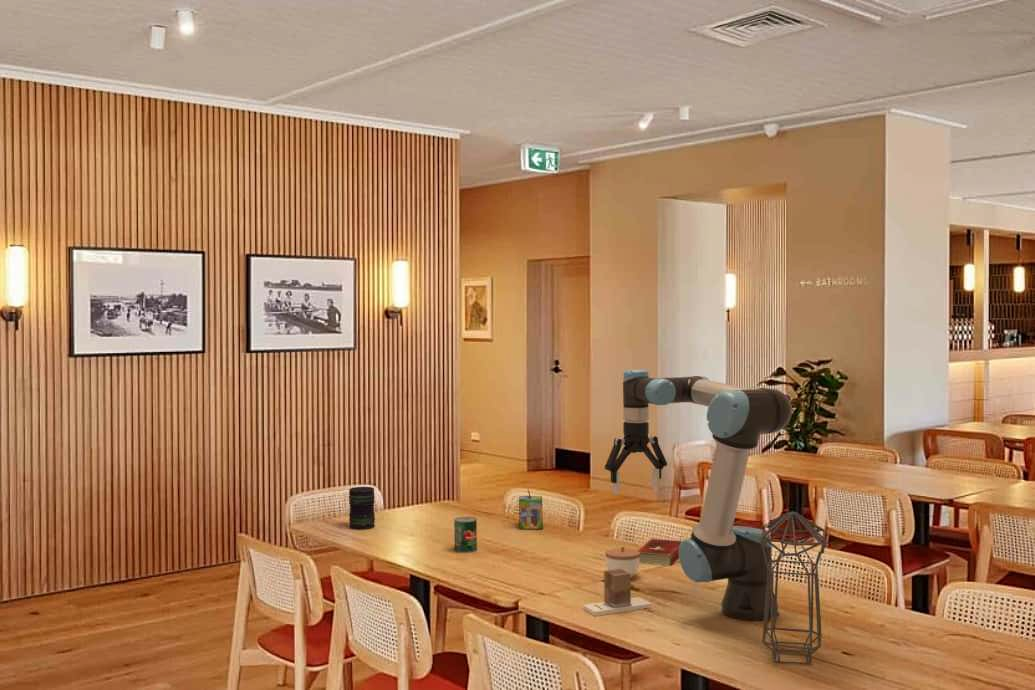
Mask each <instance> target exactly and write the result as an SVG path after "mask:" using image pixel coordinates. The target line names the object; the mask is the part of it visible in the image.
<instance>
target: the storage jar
mask: <svg viewBox="0 0 1035 690" xmlns="http://www.w3.org/2000/svg"><path fill="white" fill-rule="evenodd" d="M348 492H349V493H348V499H349V500H348V503H349V514H348V516H349V518H348V520H349V529H351V530H355V531H363V530H365V531H366V530H371V529H374V528H375V525H376V524H375V521H376V517H375V514H376V513H375V488H374V487H373V486H355V487H351V488H349V489H348Z"/></svg>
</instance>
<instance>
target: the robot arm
mask: <svg viewBox="0 0 1035 690" xmlns="http://www.w3.org/2000/svg"><path fill="white" fill-rule="evenodd" d="M622 378H623V379H622V397H623V398H622V399H623V400H622V403H623V404H622V405H623V408H622V411H623V412H622V413H623V420H624V422H623V425H622V426H623V427H622V428H623V431H622V432H623V438H617V437H615V438H614V439H613V440H614V441H613V446H612V449H611V451H610V454H609V455H608V458H607V460H606V463H605V465H604V470H606V471H609V472H610V482H611V483H612V492H613V494H615V495H620V494H621V481H620V479H621V476H620V475H621V472H619V469H620V468H621V467H622V466H623V464H624V463H625V461H626V459H627V458H628V456H630V455H631V454H632V453H633V454H636V453H643V454H644V455H645V457H647V459H648V460H649V461H650V462H651V464H652V465H653V467H652V469H651V470H652V472H651V473H652V474H651V475H652V481H651V482H652V490H653V491H657V492H659V491H660V480H661V479H662V470H663V469H664V467H667V466H668V462H667V460H666V458H665V456H664V454H663V451H662V449H661V447H660V445H659V439H658V436H655V435H650V436H649V432H650V430H649V428H650V426H649V425H650V424H649V422H648V421H649V419H650V418H649V417H650V415H649V413H650V411H649V407H650V406H649V404H650V405H655V406H667V405H669V404H679V403H692V404H696V405H700V406H704V407H708V408H707V411H706V421H707V422H708V423H707V427H708V430H709V431H710V432H711V434H712V435H711V437H712V439H713V441H715V443H716V444H715V450H714V454H713V459H712V464H711V469H710V474H709V477H708V483H707V487H706V491H705V497H704V501H703V505H702V510H701V511H702V512H701V514H700V515H701V516H700V518H699V519H700V521H699V523H696V524H694V525H693V527H692V529H691V534H690V538H685V539H684V540H681V541H682V542H681V543H680V546H679V558H678V560H679V564H680V566H681V569H682V571H683V573H684V575H686V577H687V578H688V579H689V580H690V581H692V582H694V583H711V582H714V581H720V580H727V583H726V584H727V586H726V588H725V591H724V594H723V595H724V596H723V598H722V601H721V612H722V613H723V614H724V615H726V616H728V617H730V618H731V617H732V618H734V619H741V620H748V621H749V620H750V621H762V620H763V621H764V611H765V598H766V585H767V572H768V571H767V567H766V562H765V558H764V553H763V548H762V547H761V542H760V540H759V538H760V536H762V535H761V534H762V533H763V531H762V528H757V527H756V528H755V527H750V526H742V525H741V526H740V525H734V523H735V519H736V513H737V509H738V505H739V500H740V497H741V492H742V488H743V484H744V479H745V475H746V474H745V473H746V469H747V465H748V461H749V456H750V452H751V451H753V450H755V449H756V448H757V447H758V444H759V440H760V436H761V435H768V434H769V435H770V434H774V433H778V432H780V431H781V430H782V429H784V428H785V427H786V426H787V425H788V424H789V422H790V421H791V418H792V414H793V406H792V403H791V400H790V398H789V397H788V396H787V395H786V394H785V393H784V392H782V391H780V390H778V389H775V388H766V387H758V388H755V389H752V388H748V387H743V386H739V385H733V384H729V383H723V382H719V381H714V380H710V379H709V378H708V377H706V376H701V375H693V376H679V377H675V376H674V377H650V376H649V372H648V370H646V369H627V370H624V371H623V376H622ZM649 444H650V445H651V447H652V450H653V452H654V453H653V452H652V451H651V449H650V447H649V446H648V445H649ZM623 445H624V446H623ZM622 446H623V448H622ZM621 448H622V449H621ZM619 453H620V454H619ZM654 454H655V455H654ZM770 534H771V533H769V534H767V535H766V538H767V537H768V536H769V535H770ZM769 539H772V535H771V536H770V537H769ZM770 542H771V543H772V541H770ZM766 543H767V548H768V551H769V553H770V556H771V557H772V553H773V552H772V549H773V546H772V545H770V544H769V543H768V542H766ZM765 553H766V557H767V562H768V563H769V561H771V559H770V556H769V554H768V552H767V549H766V547H765ZM769 569H770V566H769ZM774 602H775V591H773V618H774ZM778 614H779V604H778V603H777V606H776V617H777V616H778ZM768 620H771V588H770V602H769V615H768Z"/></svg>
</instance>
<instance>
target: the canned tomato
mask: <svg viewBox="0 0 1035 690" xmlns="http://www.w3.org/2000/svg"><path fill="white" fill-rule="evenodd" d="M453 520H454V521H453V522H454V523H453V525H454V526H453V527H454V534H453V535H454V552H456V553H460V554H470V553H471V554H472V553H475V552H477V551H478V537H477V536H478V533H477V531H478V528H477V527H478V526H477V524H478V523H477V521H478V520H477V518H476V517H474V516H459V517H456V518H454V519H453Z"/></svg>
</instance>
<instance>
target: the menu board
mask: <svg viewBox="0 0 1035 690" xmlns="http://www.w3.org/2000/svg"><path fill="white" fill-rule="evenodd" d="M651 607H652V608H653V603H651V602H649V601H648V600H646V599H645V598H642V597H640V596H636V597H631V606H627V607H620V608H614V607H612V606H610V605H608V604H606V603H604V601H602V602H595V603H588V604H587V603H586V604H583V605H582V610H583V609H584V610H583V611H585V612H587V613H588V612H589V614H590V615H593V616H594V617H599V616H600V617H601V616H605V615H606V614H607V615H612V614H619V612H620V613H626V612H633V610H634V611H639V609H640V610H645V609H644V608H647V609H652V608H651Z"/></svg>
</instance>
